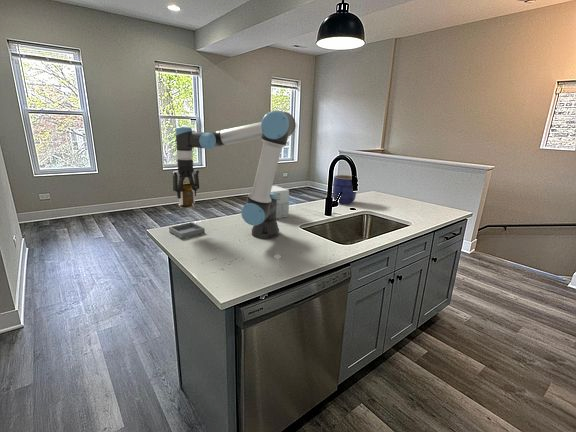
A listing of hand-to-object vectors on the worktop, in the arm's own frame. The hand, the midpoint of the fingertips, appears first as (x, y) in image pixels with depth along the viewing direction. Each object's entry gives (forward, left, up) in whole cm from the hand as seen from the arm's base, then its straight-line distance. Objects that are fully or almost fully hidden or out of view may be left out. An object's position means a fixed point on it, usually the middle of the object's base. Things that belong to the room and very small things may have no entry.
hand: (187, 203), depth 156 cm
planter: (-17, -123, -17) cm, 126 cm away
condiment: (0, 0, -2) cm, 2 cm away
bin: (+1, +1, -17) cm, 17 cm away
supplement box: (-5, -58, -17) cm, 61 cm away
